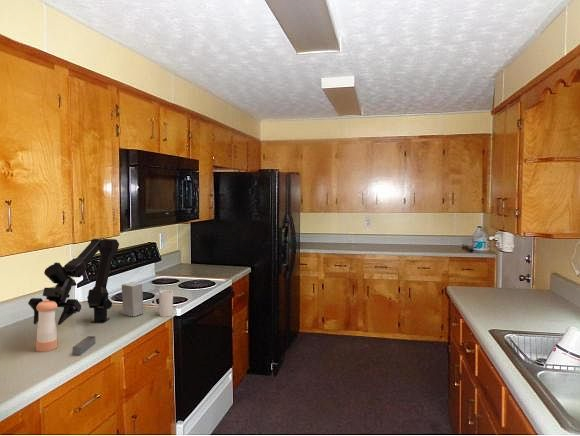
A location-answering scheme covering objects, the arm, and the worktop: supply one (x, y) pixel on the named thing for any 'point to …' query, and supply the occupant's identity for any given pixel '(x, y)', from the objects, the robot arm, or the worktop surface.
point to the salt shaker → (46, 327)
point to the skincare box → (132, 299)
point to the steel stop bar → (83, 345)
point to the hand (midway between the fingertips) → (46, 324)
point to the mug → (164, 303)
